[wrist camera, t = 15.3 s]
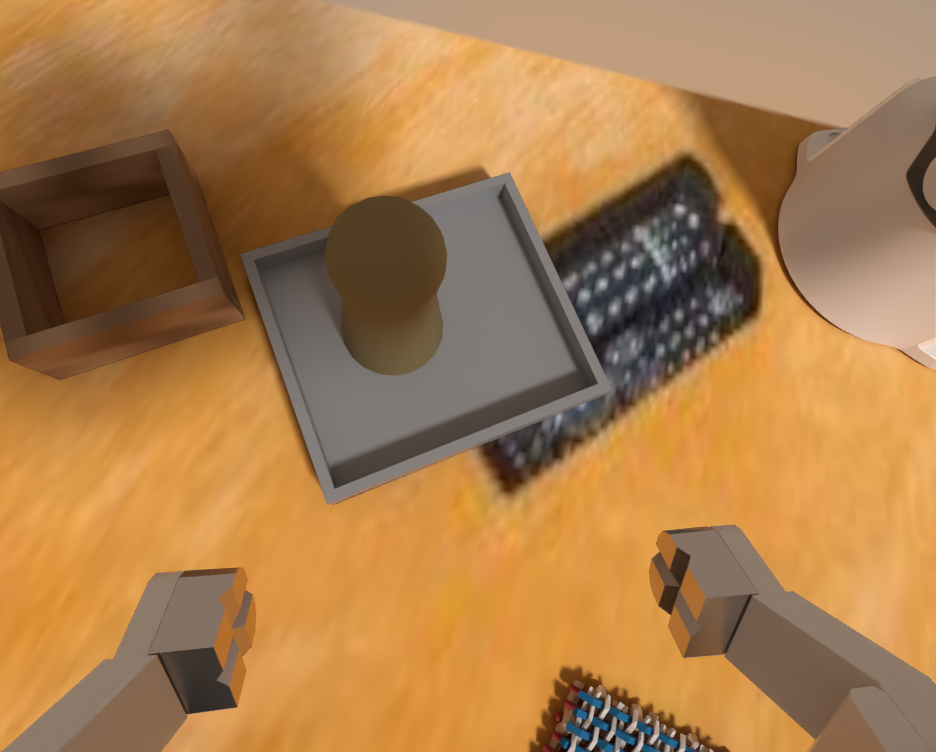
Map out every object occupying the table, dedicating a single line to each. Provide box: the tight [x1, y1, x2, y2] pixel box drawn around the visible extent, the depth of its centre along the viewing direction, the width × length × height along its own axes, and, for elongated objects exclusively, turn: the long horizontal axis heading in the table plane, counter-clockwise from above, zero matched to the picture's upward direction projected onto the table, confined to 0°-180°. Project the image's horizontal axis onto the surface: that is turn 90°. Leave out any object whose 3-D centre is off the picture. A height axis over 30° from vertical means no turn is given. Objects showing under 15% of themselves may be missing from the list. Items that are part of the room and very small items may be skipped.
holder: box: [0, 130, 245, 380], centre depth 31 cm, size 10×10×4 cm
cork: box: [325, 196, 447, 376], centre depth 27 cm, size 6×6×11 cm
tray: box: [240, 172, 612, 505], centre depth 32 cm, size 17×15×2 cm
